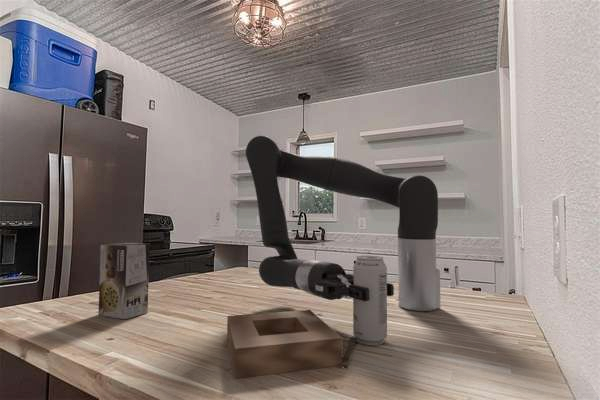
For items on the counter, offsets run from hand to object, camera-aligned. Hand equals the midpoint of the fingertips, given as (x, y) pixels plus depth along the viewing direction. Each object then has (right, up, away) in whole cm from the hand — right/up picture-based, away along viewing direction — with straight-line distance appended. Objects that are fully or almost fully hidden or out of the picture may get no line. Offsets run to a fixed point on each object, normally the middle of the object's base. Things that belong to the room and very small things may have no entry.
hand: (380, 292), depth 58 cm
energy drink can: (-2, -9, +1) cm, 10 cm away
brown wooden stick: (-6, -9, -4) cm, 12 cm away
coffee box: (-55, -10, +17) cm, 58 cm away
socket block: (-18, -9, -3) cm, 20 cm away
